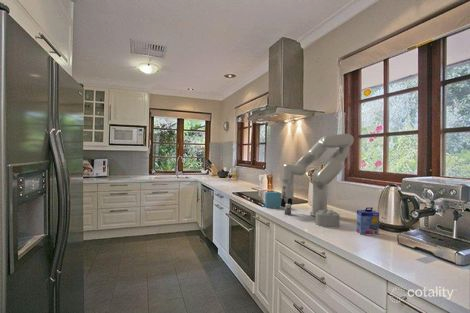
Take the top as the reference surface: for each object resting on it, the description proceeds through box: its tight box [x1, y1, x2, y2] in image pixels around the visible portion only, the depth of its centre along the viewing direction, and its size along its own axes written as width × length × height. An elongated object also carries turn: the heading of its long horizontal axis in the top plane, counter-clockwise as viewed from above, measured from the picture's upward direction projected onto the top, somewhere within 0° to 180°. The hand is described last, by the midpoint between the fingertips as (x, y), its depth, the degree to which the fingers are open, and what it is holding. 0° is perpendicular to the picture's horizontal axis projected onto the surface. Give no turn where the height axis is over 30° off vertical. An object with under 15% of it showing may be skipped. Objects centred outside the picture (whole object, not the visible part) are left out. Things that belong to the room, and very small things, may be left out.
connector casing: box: [284, 203, 292, 216], centre depth 167 cm, size 4×4×7 cm
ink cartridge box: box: [355, 207, 380, 235], centre depth 129 cm, size 10×6×14 cm, turn 91°
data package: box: [264, 191, 282, 209], centre depth 189 cm, size 12×4×12 cm, turn 94°
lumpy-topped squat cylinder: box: [315, 209, 341, 228], centre depth 144 cm, size 10×13×9 cm
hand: (286, 205), depth 167 cm, fingers open, 9 cm apart
